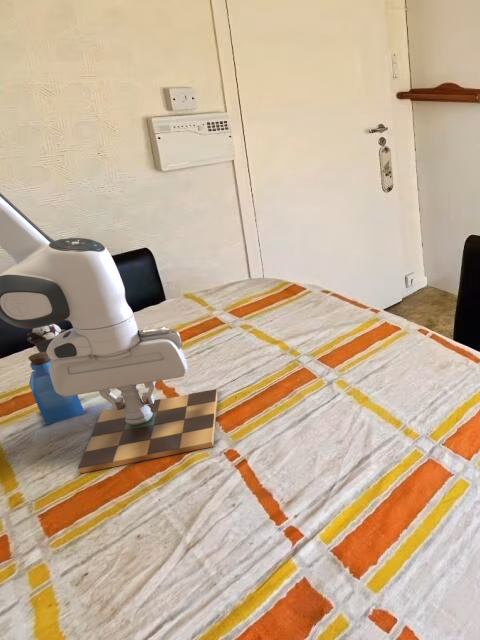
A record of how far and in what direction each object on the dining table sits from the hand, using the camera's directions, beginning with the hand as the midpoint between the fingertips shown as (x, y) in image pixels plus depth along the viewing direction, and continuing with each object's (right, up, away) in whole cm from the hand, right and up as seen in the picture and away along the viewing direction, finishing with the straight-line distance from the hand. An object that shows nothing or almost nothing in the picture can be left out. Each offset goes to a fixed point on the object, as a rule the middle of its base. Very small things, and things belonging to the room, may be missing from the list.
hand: (134, 405), depth 111 cm
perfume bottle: (-18, -2, +7) cm, 19 cm away
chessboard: (+3, -4, +1) cm, 6 cm away
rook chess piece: (0, -3, +1) cm, 3 cm away
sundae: (-26, +5, +19) cm, 33 cm away
